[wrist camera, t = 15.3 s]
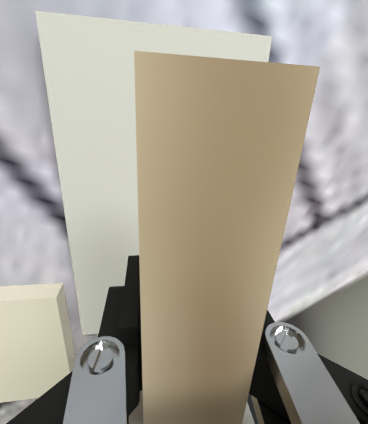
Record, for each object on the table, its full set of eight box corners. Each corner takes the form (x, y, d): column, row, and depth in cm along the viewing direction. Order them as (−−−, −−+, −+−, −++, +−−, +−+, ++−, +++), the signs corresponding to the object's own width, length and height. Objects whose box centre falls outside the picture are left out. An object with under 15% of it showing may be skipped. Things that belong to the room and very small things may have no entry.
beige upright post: (109, 389, 13) (89, 534, 9) (78, 82, 8) (-18, 37, 3) (231, 375, 14) (271, 498, 10) (279, 95, 9) (422, 75, 4)
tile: (-49, 286, 21) (-13, 381, 25) (-71, 305, 18) (-28, 406, 23) (64, 280, 22) (79, 371, 26) (56, 297, 20) (73, 393, 24)
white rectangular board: (85, 322, 23) (82, 335, 22) (45, 20, 15) (35, 10, 13) (224, 310, 26) (229, 322, 24) (261, 42, 17) (272, 36, 16)
